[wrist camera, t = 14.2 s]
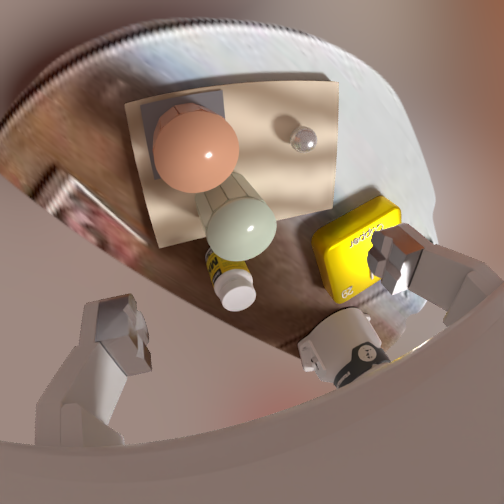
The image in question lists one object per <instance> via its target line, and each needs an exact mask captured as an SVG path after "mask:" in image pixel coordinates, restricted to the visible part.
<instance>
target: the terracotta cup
mask: <svg viewBox="0 0 504 504" xmlns="http://www.w3.org/2000/svg"><path fill="white" fill-rule="evenodd" d="M153 155H154V162H155V166H156V169H157V171H158V173H159V175H160V177H161V178H162V179H163V180H164V181H165V182H166V183H167V184H168V185H169V186H171V187H172V188H174V189H176V190H179V191H182V192H187V193H200V192H205V191H208V190H211V189H213V188H215V187H217V186H218V185H220V184H221V183H223V182H224V181H225V180H226V179H227V178H228V177H229V176H230V174H231V173H232V172H233V170H234V168H235V166H236V163H237V161H238V157H239V142H238V138H237V135H236V133H235V131H234V130H233V128H232V127H231V125H230V124H229V123H228V122H227V121H226V120H225V119H224V118H223V117H222V116H220V115H219V114H217V113H215V112H213V111H212V110H210V109H208V108H206V107H203V106H200V105H197V104H195V103H185V104H180V105H175V107H174V106H173V107H172V108H170V109H169V110H168V111H167V112H165V113H164V114H163V115H162V116H161V117H160V118H159V120H158V123H157V126H156V128H155V131H154V136H153Z"/></svg>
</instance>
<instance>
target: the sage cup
mask: <svg viewBox="0 0 504 504" xmlns="http://www.w3.org/2000/svg"><path fill="white" fill-rule="evenodd" d="M195 202H196V208H197V212H198V215H199V218H200V221H201V224H202V227H203V230H204V233H205V236H206V239H207V242H208V244H209V245H210V247H211V249H212V250H213V252H214V253H215V254H216V255H218V256H219V257H221V258H223V259H225V260H229V261H244V260H248V259H251V258H253V257H255V256H257V255H259V254H260V253H261V252H263V251H264V250H265V249H266V248H267V247H268V246H269V244H270V243H271V241H272V240H273V238H274V235H275V232H276V218H275V216H274V213H273V212H272V210H271V209H270V208H269V207H268V205H267V204H266V203H265V201H264V200H263V199H262V198H261V196H260V195H259V194H258V193H257V192H256V191H255V189H254V188H253V187H252V186H251V185H250V183H249V182H248V181H247V180H246V179H245V178H244V176H242V175H241V174H238V173H235V172H232V173H231V174H230V176H229V177H228V178H227V179H226V180H225V181H224V182H223V183H221V184H220V185H218V186H217V187H215V188H213V189H211V190H208V191H205V192H200V193H196V195H195Z"/></svg>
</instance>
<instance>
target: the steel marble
mask: <svg viewBox="0 0 504 504" xmlns="http://www.w3.org/2000/svg"><path fill="white" fill-rule="evenodd" d="M290 144H291V146H292V147H293V149H294V150H296V151H297V152H300V153H308V152H310V151H312V150H313V149H314V148H315V147H316V145H317V135H316V133H315V132H314V131H313V130H312V129H311V128H309V127H306V126H300V127H297V128H295V129H294V130H293V131H292V132H291V134H290Z"/></svg>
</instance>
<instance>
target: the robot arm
mask: <svg viewBox="0 0 504 504" xmlns="http://www.w3.org/2000/svg"><path fill="white" fill-rule="evenodd" d="M370 242H371V244H372V246H371V248H370V249H369V251H368V254H367V264H368V267H369V269H370V271H371V272H372V273H373V275H374V276H377V277H379V278H381V283H382V285H383V286H384V287H385V288H386V289H387V290H388V291H389V292H390V293H391V295H394V294H396V293H399V292H401V291H404V290H406V289H408V288H409V289H408V290H410V291H412V292H414V293H415V294H417V295H419V296H421V297H423V298H424V299H426V300H428V301H430V302H432V303H433V304H435V305H437V306H439V307H440V308H442V309H444V310H446V311H447V313H446V315H445V317H444V319H443V323H444V324H445V325H446V326H447V328H445V329H444V330H442V331H441V332H439V333H438V334H437V335H435V336H433V337H432V338H430V339H429V340H427V341H426V342H424V343H423V344H421V345H420V346H418V347H416V348H415V349H413V350H411V351H410V352H408V353H406V354H405V355H403V356H401V357H399V358H398V359H396V360H394V361H392V362H390V360H389V358H388V355H387V354H386V353H385V352H384V351H383V349H382V348H380V346H381V341H380V339H379V337H378V335H377V334H376V332H375V330H374V329H373V327H372V325H371V324H370V322H369V321H370V319H371V318H370V316H369V314H364V313H362V311H361V310H360V309H358V308H347V309H343V310H341V311H338V312H336V313H334V314H332V315H331V316H329V317H328V318H326V319H325V320H323V321H322V322H321V323H320V324H319V325H318V326H317V327H316V328H315V329H314V330H313V331H312V332H311V333H310V334H309V335H308V336H307V337H305V338H304V339H302V340H301V341H300V342H299V343H298V349H299V353H300V358H301V362H302V366H303V369H304V370H305V371H307V372H308V371H314V370H315V372H316V374H317V375H318V377H319V379H320V380H321V381H326V382H331V383H334V385H335V386H336V388H337V389H336V390H334V391H332V392H329V393H327V394H325V395H322V396H320V397H317V398H315V399H313V400H310V401H307V402H305V403H302V404H300V405H297V406H294V407H292V408H289V409H286V410H283V411H280V412H277V413H274V414H271V415H268V416H265V417H262V418H259V419H256V420H252V421H249V422H245V423H242V424H238V425H234V426H230V427H227V428H223V429H219V430H214V431H210V432H206V433H201V434H196V435H191V436H186V437H181V438H175V439H169V440H163V441H155V442H148V443H139V444H129V445H125V444H124V437H123V436H122V435H121V434H119V433H118V432H116V431H115V430H113V429H112V428H110V427H109V426H108V423H109V421H110V418H111V416H112V413H113V411H114V408H115V406H116V403H117V401H118V399H119V396H120V394H121V392H122V389H123V387H124V384H125V383H126V380H127V376H132V375H137V374H141V373H146V372H150V371H152V365H151V355H150V352H149V350H148V348H147V347H146V346H147V344H148V342H149V334H148V329H147V325H146V322H145V319H144V317H143V315H142V313H141V312H139V311H138V310H137V307H136V301H135V299H134V297H133V295H132V294H125V295H121V296H116V297H111V298H107V299H101V300H98V301H93V302H89V303H86V305H85V306H84V312H83V317H82V324H81V331H80V339H79V346H75V347H74V348H73V350H72V351H71V352H70V354H69V355H68V357H67V358H66V360H65V361H64V362H63V364H62V365H61V367H60V368H59V370H58V371H57V373H56V374H55V376H54V377H53V379H52V380H51V382H50V383H49V385H48V386H47V388H46V389H45V391H44V393H43V394H42V396H41V397H40V399H39V401H38V402H37V404H36V419H35V420H36V421H35V445H29V444H20V443H13V442H6V441H0V504H504V281H503V280H502V279H501V278H500V277H499V276H498V275H497V274H496V273H495V272H494V271H493V270H492V269H491V268H490V267H488V266H487V265H486V264H485V263H484V262H482V261H479V260H477V259H474V258H472V257H469V256H466V255H464V254H461V253H458V252H456V251H453V250H451V249H448V248H445V247H443V246H440V245H437V244H436V245H433V244H432V243H431V242H430V241H429V240H427V239H426V238H425V237H424V236H423V235H421V234H420V233H419V232H418V231H416V230H415V229H414V228H413V227H411V226H410V225H409V224H407V223H401V224H398V225H395V226H392V227H388V228H385V229H381V230H378V231H374V233H373V234H372V236H371V240H370Z"/></svg>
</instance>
